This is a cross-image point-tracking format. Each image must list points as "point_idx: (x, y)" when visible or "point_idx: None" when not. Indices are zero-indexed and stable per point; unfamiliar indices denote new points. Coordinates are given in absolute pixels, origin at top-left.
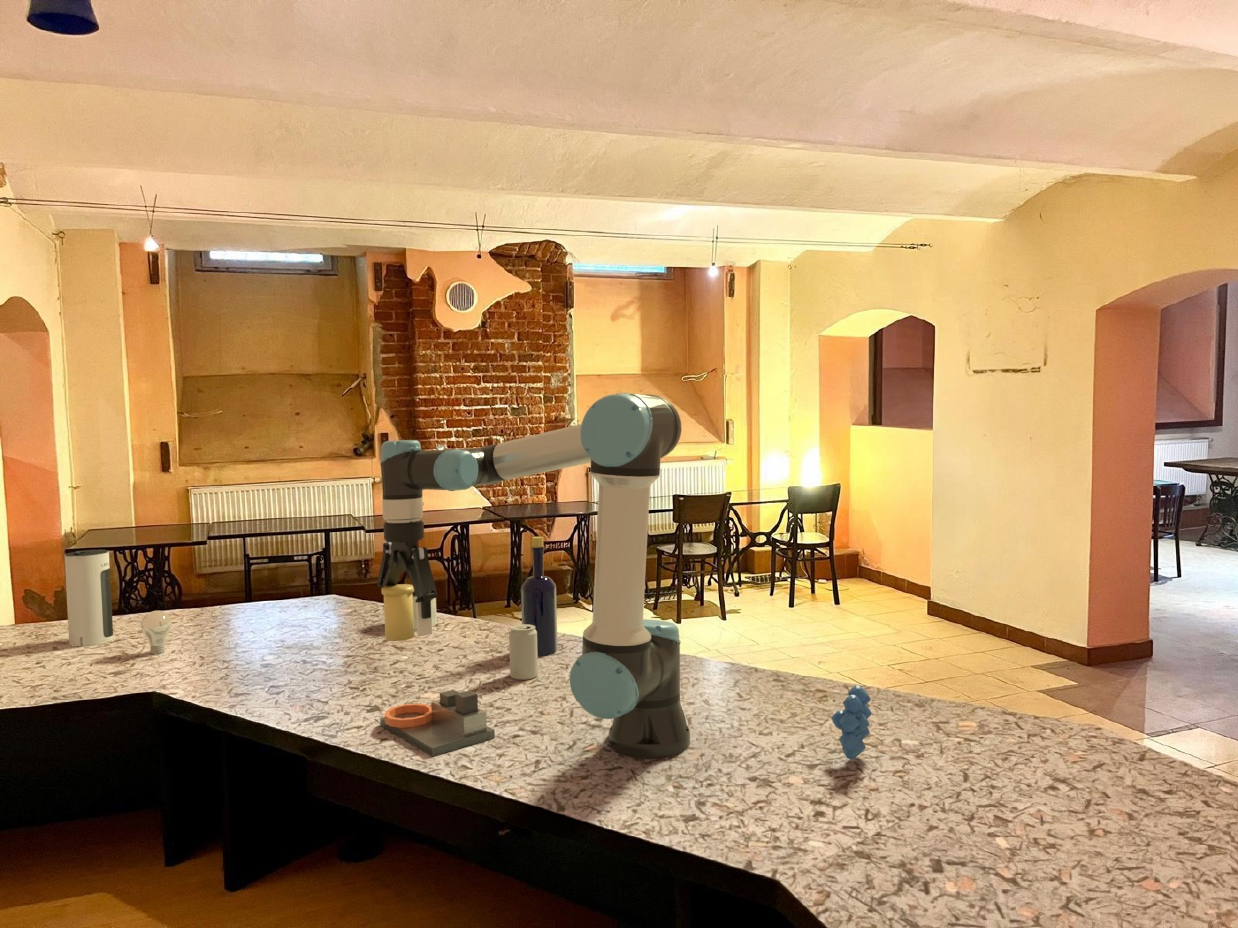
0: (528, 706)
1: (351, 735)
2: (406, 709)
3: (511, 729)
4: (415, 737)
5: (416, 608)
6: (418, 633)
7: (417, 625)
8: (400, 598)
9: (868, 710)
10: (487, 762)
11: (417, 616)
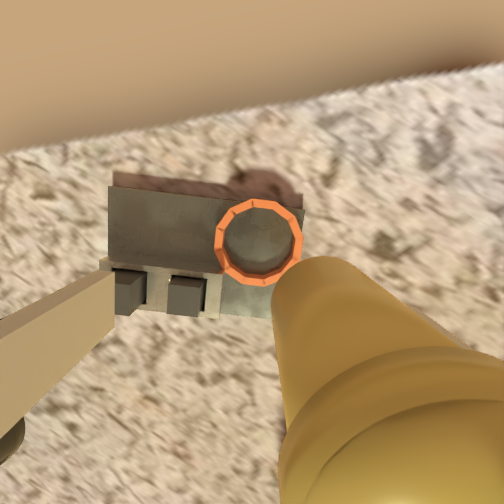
0: (189, 405)
1: (301, 147)
2: (290, 257)
3: (126, 331)
4: (171, 195)
5: (10, 330)
6: (95, 274)
7: (79, 286)
8: (301, 402)
9: None
10: (38, 227)
11: (40, 305)
